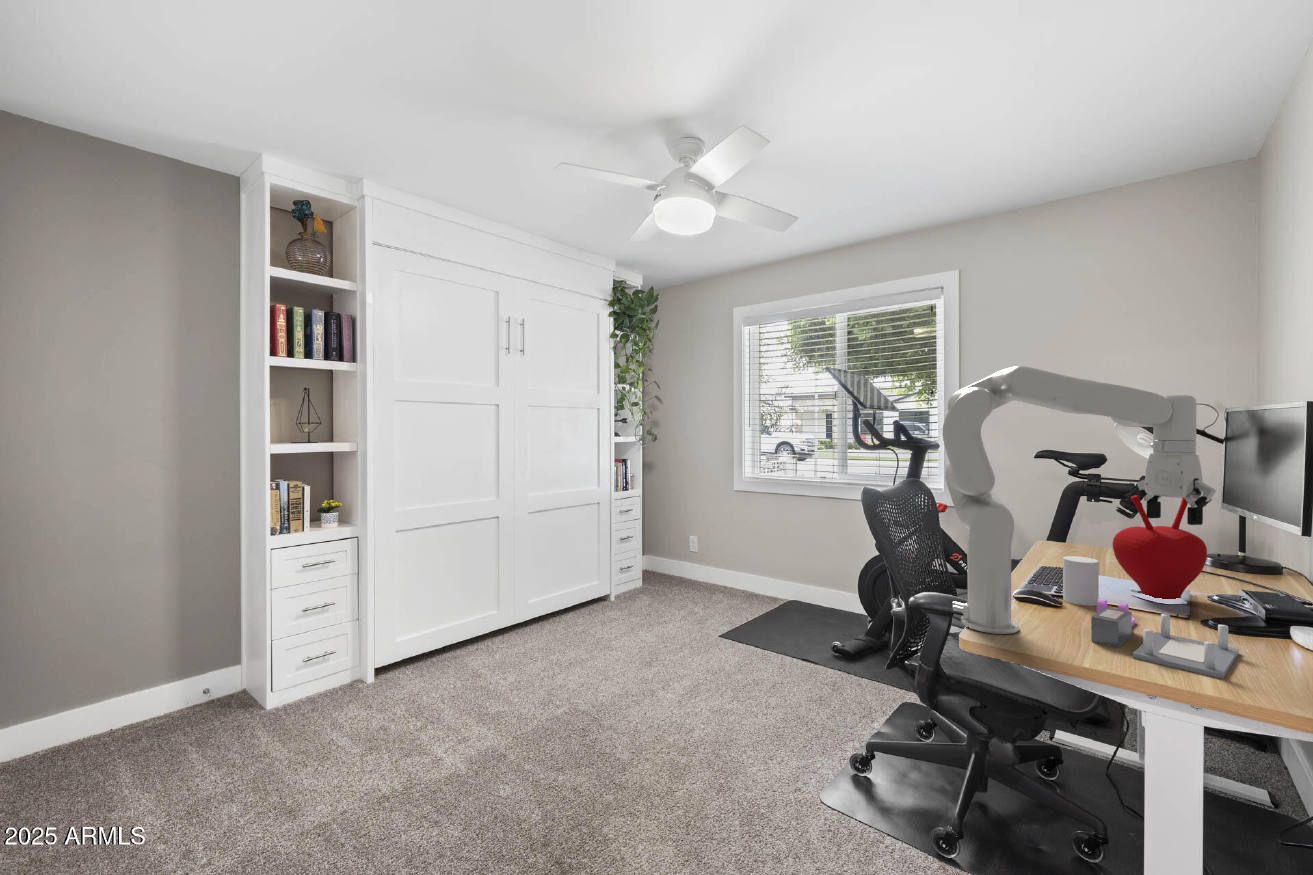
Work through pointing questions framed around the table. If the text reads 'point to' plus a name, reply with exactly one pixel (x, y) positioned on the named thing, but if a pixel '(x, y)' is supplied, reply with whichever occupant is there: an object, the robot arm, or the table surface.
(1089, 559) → the light grey cylinder
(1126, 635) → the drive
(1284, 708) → the table surface
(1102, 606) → the bracket
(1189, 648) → the grey fixture base
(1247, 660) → the table surface
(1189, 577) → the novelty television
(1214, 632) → the table surface
